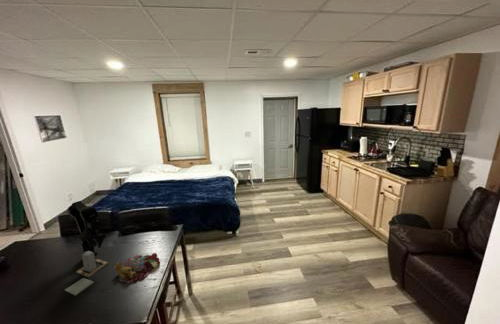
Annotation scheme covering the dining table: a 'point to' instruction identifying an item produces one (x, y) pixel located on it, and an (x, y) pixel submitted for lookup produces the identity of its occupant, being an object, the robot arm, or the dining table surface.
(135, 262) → the candy landscape model
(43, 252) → the dining table surface
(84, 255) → the skincare box
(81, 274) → the frame
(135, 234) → the dining table surface
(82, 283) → the ceramic coaster
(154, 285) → the dining table surface
